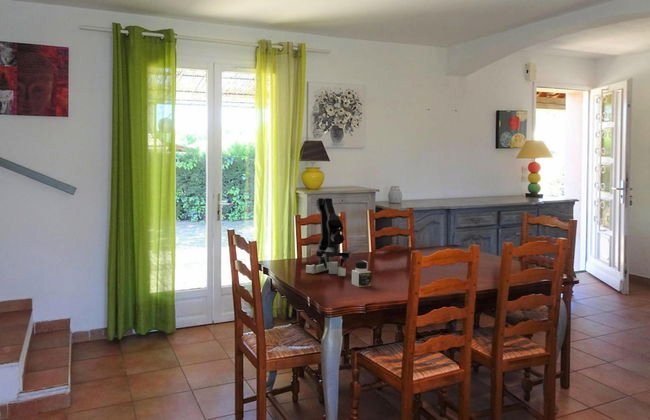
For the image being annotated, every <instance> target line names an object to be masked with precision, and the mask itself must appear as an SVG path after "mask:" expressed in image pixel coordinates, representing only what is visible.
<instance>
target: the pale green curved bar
mask: <svg viewBox="0 0 650 420" xmlns="http://www.w3.org/2000/svg"><path fill="white" fill-rule="evenodd" d="M324 271H329V263H327V269H325V266H324V264H321V265H318V264H317V265H315V274H317V273H322V272H324Z"/></svg>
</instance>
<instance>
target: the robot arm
mask: <svg viewBox="0 0 650 420" xmlns="http://www.w3.org/2000/svg"><path fill="white" fill-rule="evenodd" d="M315 202H316V207H317V210H318V211H319V214H320V235H321V236H320V239H319V241H318V245H317V247H316V253H315V256H316V257H318V258H319V263H318V264H317V265H321V264H324V266H325V269H327V263H329V262H330V258H334V257H336V256H337V257H340V267H342V268H344V265H345V262H346V260H348V259H350V258H351V257H352V252H351V251H346V250H345V251H343V252H340V245H341V244H342V243H344V241H345V237H344V235H343V234H342V232H344V226H343V222H342V220H341V218H340V217H339V216H338V215H337V214H336V211H335V207H334V204H333V199H332V198H331V197H318V198H317V199H316V201H315Z"/></svg>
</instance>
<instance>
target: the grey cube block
mask: <svg viewBox="0 0 650 420" xmlns="http://www.w3.org/2000/svg"><path fill="white" fill-rule="evenodd" d="M338 267H339V261H329V269H328V275H338Z"/></svg>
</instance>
